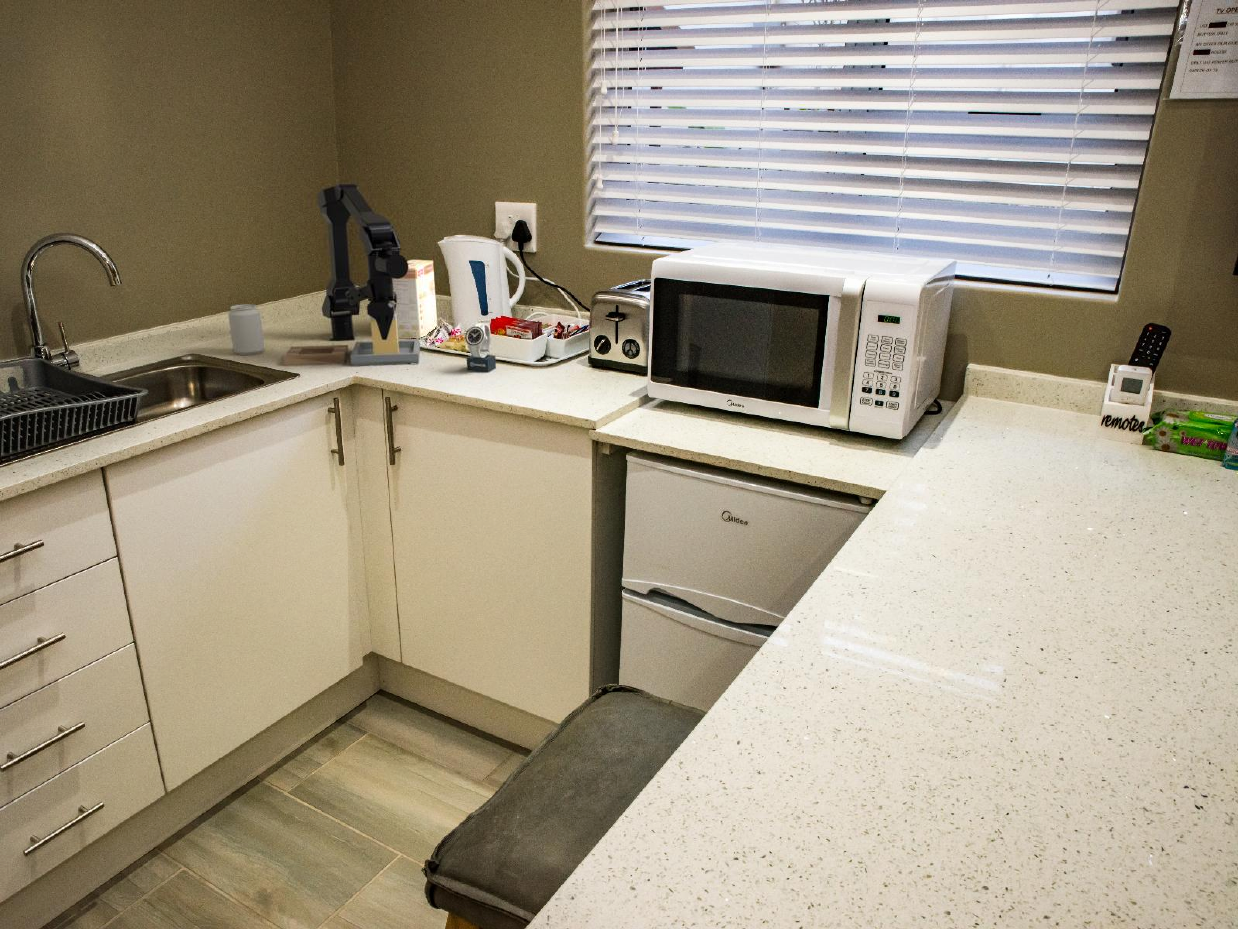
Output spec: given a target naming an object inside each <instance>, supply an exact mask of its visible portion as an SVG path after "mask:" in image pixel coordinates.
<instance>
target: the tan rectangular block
mask: <svg viewBox="0 0 1238 929" xmlns="http://www.w3.org/2000/svg"><path fill="white" fill-rule="evenodd" d="M369 317H370V329H371V339H372V340H371V341H373V353H374V354H396V353H399V344H398V341H399V339H398V331H397V318H396V312H395V313H394V317H393V320H392V324H391V327H390V330H389V333H388V337H387V340H382V338H381V334H380V331H379V328H378V325H377V322H376V320H375V319H374V318H373V317H371V316H369Z"/></svg>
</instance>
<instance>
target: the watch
mask: <svg viewBox="0 0 1238 929" xmlns="http://www.w3.org/2000/svg"><path fill="white" fill-rule="evenodd" d="M491 336H492V333H491V328H490V326H489V325H488V324H487V323H479V322H476V323H474V324H472V325H471V327H469V328H468V329H467V331H466V333H465V335H464V340H465V343H466V344H467V345H466V346H467V349H468V350H469V352H470V355H469V356H467V357H466V371H467V372H468V371H469V372H478V373H490V372H491V371H494V370H495V369H497V366H496V365H497V364H496V355H492V354H491V355H490V354H489V353H490V350H491V344H492V337H491Z"/></svg>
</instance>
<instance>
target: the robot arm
mask: <svg viewBox="0 0 1238 929" xmlns="http://www.w3.org/2000/svg"><path fill="white" fill-rule="evenodd" d="M316 199H317V200H316V201H317V202H316V203H317V205H318V207H319V211H320V214H321V216H322V217H323V218H324V220H325V221H326V223H327V231H328V232H327V233H328V247H329V260H330V272H331V274H330V275H331V276H330V277H331V279H330V280H329V282H328V284H327V285H326V288H325V290H326V291H325V293H326V294H325V297H324V300H323V304H322V307H321V312H322V315H323V317H326V318H328V319H330V327H331V336H330V337H329V341H345V340H346V341H347V340H348V341H351V340H352V341H353V340H355V338H356V337H357V333H356V332H355V331H354V322H353V321H354V320H353V316H359V315H360V308H361V306H360V305H361V302H363V301H366V300H367V301H368V303H367V305H366V312H367V316H369V317H370V316H371V317H373V318H374V319H375V320H376V322H377V325H378V328H379V331H380V334H381V338H382V340H387V337H388V333H389V330H390V327H391V324H392V320H393V317H394V313H396V311H395V309H396V305H397V304H395V303H397V294H396V293H395V292H394V287H393V278H394V279H400V278H402V277H404V276H405V275H406V274H407V272H408V263H407V261H408V260H407V259H406V258H405V257H404V256H403V255H401V254H400V253H401V252H400V251H402V250H401V249H402V247H401V242H400V239H399V237H398V234H397V233H396V231H395V229H394V227H393V225H392V223H391V222H390V221H389V220H388V219H387V218H386V217H385V216H383V215H380V214H378V213H375V211H374V210H373V208H372V207H371V206H370V204H369V203H368V201H367V200H366V199H365V197H364V196H363V195H362V194H361V192H360V190H359V186H358V185H357V184H356V183H354V182H351V183H350V182H346V183H344V182H343V183H341V182H340V183H338V184H335V185H334V186H332V187H328V188H321V190H320V191H319V192H318V193H317V196H316ZM351 217H352V219H354V221H355V222H356V224H357V225H358V232H357V234H358V237H359V239H360V241H361V243H362V244H363V246H364V247H365V248H364V250H363V253H364V254H366V265H367V276H368V278H367V280H366V283H365V284H361V285H359V286H357V285H355V283H354V282H353V280H351V272H350V271H351V269H350V255H349V254H350V253H349V240H348V222H349V220H350V218H351Z"/></svg>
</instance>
